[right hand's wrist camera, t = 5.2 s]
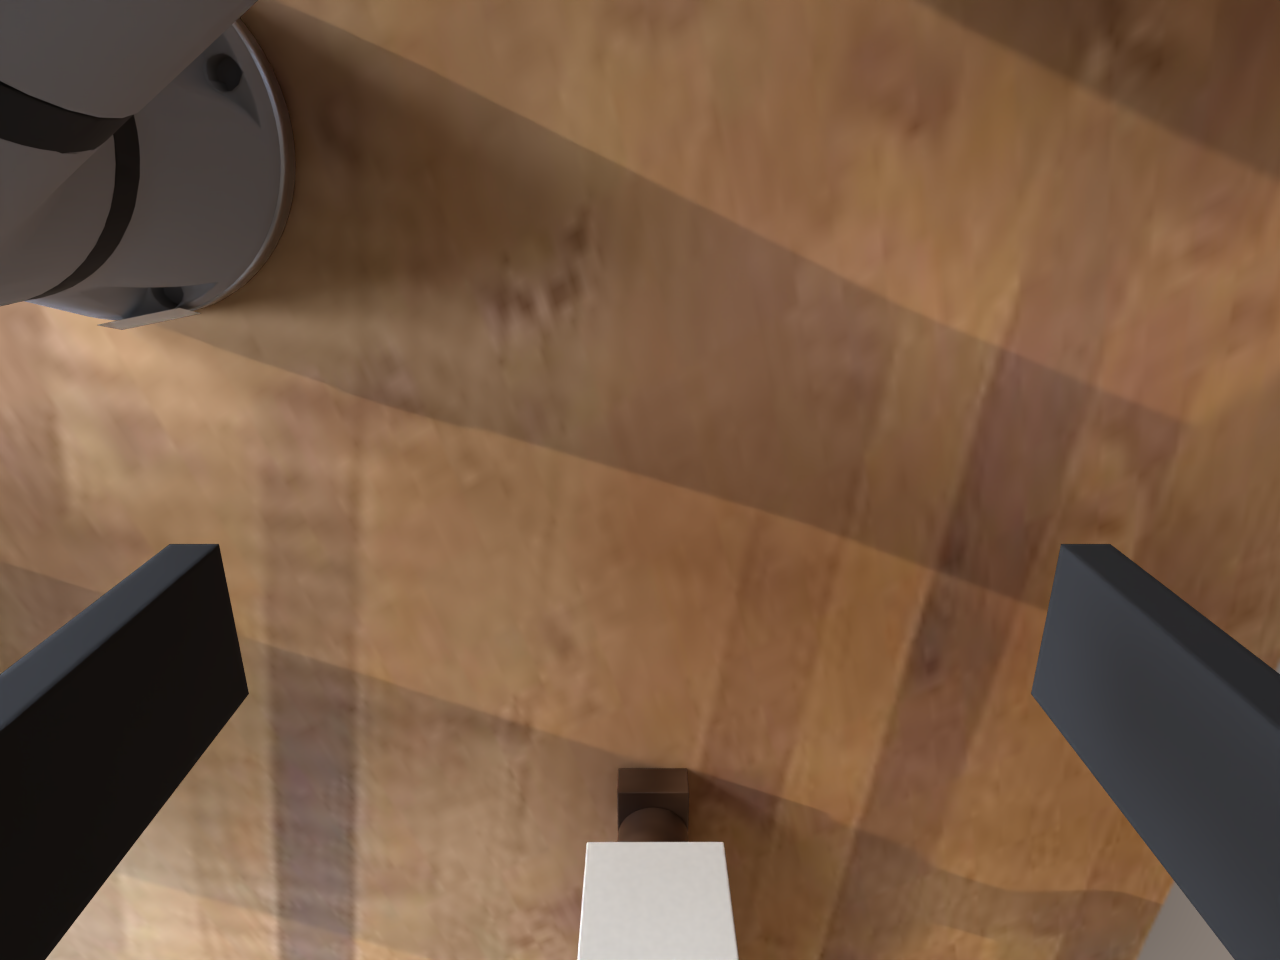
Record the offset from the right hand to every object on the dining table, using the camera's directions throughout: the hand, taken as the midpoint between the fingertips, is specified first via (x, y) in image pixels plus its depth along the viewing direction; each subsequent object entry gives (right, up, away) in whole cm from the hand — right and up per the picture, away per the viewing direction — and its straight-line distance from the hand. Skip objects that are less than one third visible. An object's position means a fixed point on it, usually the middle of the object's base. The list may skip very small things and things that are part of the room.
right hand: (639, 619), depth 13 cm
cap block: (+1, -19, +29) cm, 35 cm away
